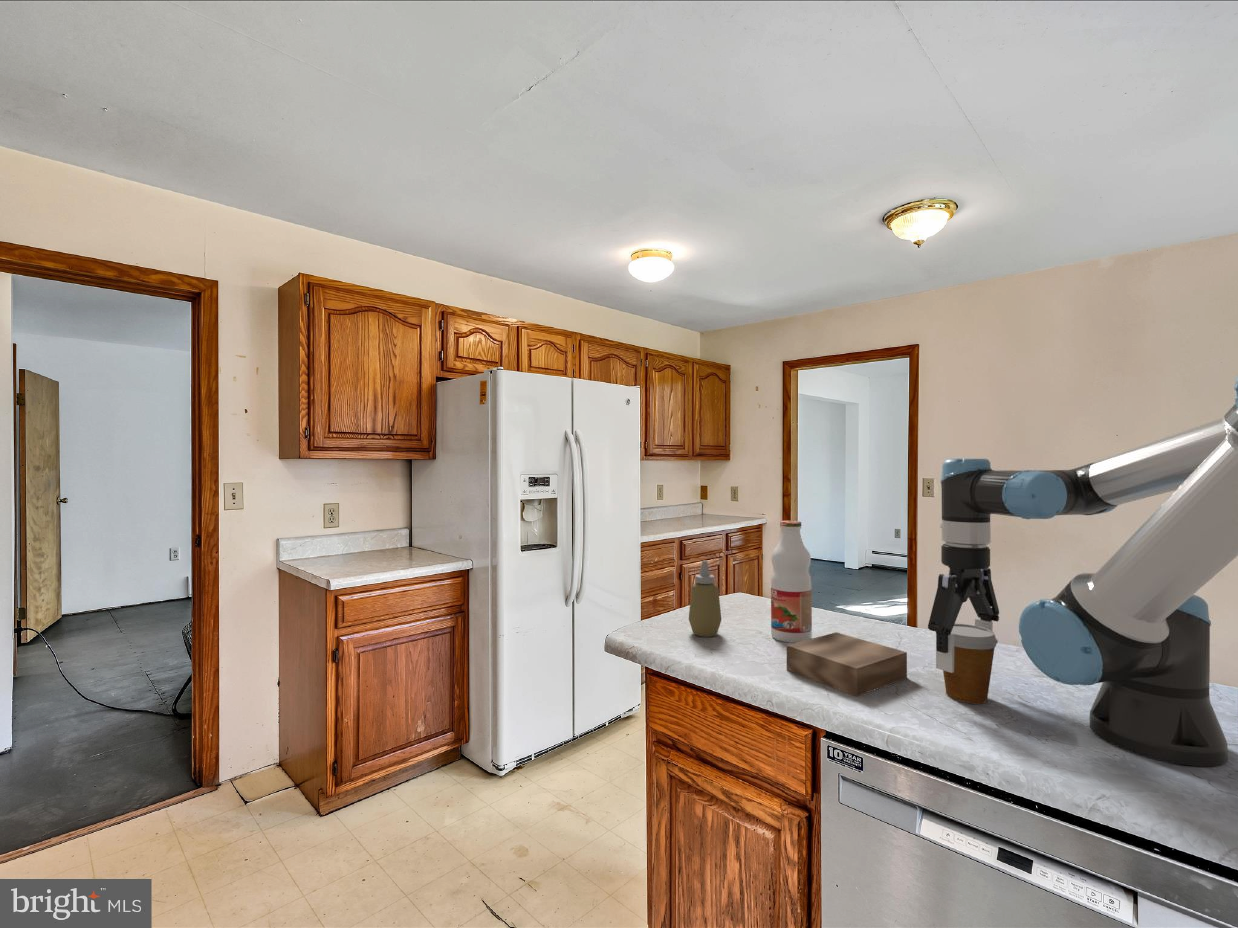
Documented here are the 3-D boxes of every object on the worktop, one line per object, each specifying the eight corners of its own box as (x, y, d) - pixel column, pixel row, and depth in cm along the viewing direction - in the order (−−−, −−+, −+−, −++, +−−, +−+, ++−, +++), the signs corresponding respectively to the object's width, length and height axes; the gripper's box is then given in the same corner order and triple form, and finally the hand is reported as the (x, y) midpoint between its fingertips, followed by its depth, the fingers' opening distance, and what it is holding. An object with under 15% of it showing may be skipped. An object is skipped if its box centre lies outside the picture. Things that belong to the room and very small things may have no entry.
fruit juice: (819, 642, 135) (818, 522, 135) (781, 644, 133) (780, 523, 133) (800, 631, 144) (799, 519, 144) (764, 632, 143) (764, 519, 143)
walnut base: (906, 677, 113) (906, 652, 113) (856, 696, 104) (856, 668, 104) (836, 655, 126) (836, 632, 126) (786, 669, 117) (786, 645, 117)
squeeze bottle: (724, 638, 138) (723, 563, 138) (690, 638, 138) (690, 563, 138) (718, 629, 146) (718, 558, 146) (687, 629, 146) (686, 558, 146)
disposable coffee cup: (1008, 709, 98) (1007, 639, 98) (946, 705, 100) (946, 636, 100) (984, 688, 107) (984, 623, 107) (928, 684, 109) (928, 621, 109)
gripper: (977, 536, 113) (977, 644, 114) (905, 547, 100) (905, 670, 100) (1020, 541, 107) (1020, 654, 107) (950, 553, 93) (950, 684, 94)
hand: (964, 662), depth 104 cm, fingers open, 13 cm apart
